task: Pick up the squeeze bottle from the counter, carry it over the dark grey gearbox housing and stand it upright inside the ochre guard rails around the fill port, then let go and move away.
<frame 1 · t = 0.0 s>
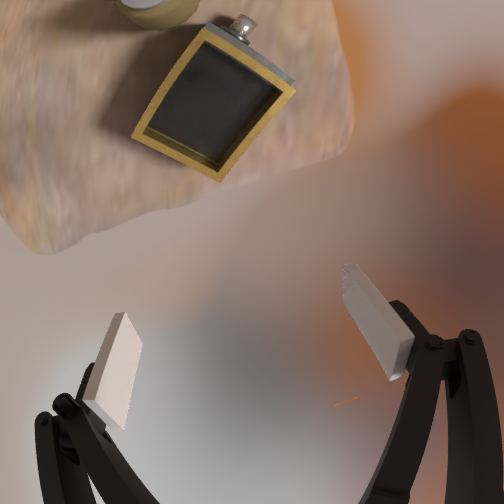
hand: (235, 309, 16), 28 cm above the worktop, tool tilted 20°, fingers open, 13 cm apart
squeeze bottle: (167, 3, 22), on the worktop
gearbox: (209, 95, 32), on the worktop
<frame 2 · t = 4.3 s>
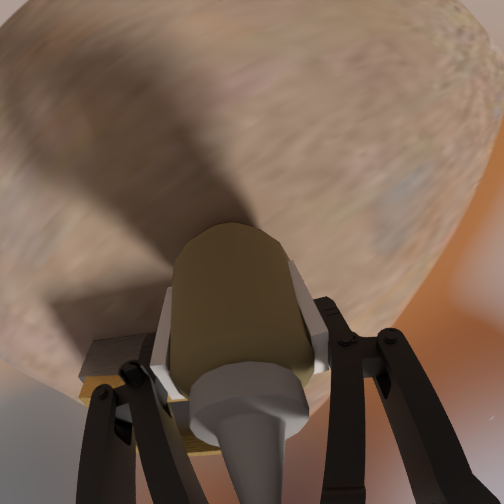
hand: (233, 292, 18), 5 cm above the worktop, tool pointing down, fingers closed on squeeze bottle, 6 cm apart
squeeze bottle: (230, 255, 22), on the worktop, touching gripper
gearbox: (182, 372, 27), on the worktop
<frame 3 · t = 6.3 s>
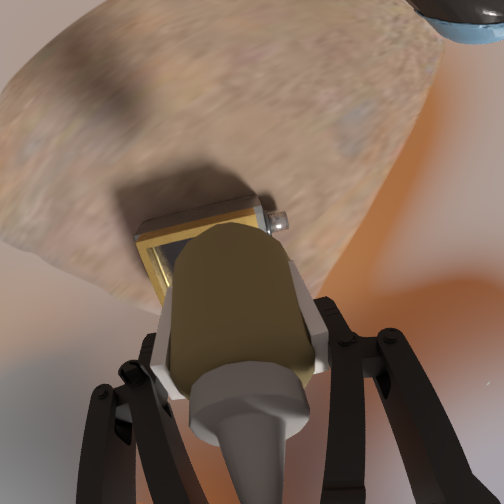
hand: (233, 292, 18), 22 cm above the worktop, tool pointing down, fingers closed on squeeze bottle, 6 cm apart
squeeze bottle: (230, 255, 22), point 17 cm above the worktop, touching gripper
gearbox: (208, 246, 40), on the worktop
when the fingers open (12 cm above the worktop, at t = 8.8 s): squeeze bottle drops 2 cm, resting on gearbox.
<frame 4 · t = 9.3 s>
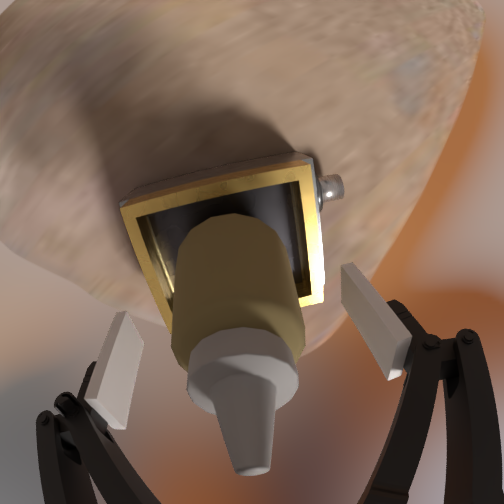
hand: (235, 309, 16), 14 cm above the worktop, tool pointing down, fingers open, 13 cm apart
squeeze bottle: (230, 246, 24), point 5 cm above the worktop, touching gearbox
gearbox: (227, 225, 28), on the worktop
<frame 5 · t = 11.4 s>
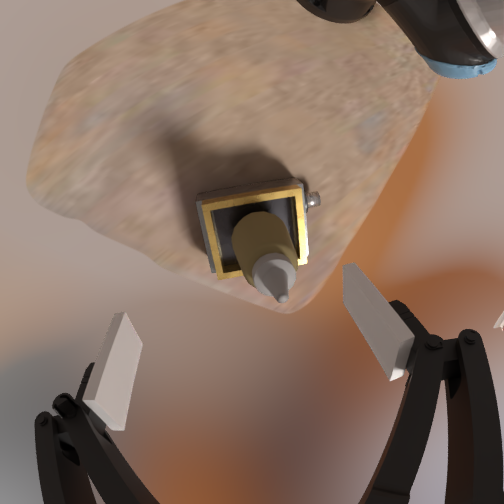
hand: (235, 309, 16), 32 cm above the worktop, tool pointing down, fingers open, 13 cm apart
squeeze bottle: (256, 229, 43), point 5 cm above the worktop, touching gearbox
gearbox: (251, 219, 47), on the worktop
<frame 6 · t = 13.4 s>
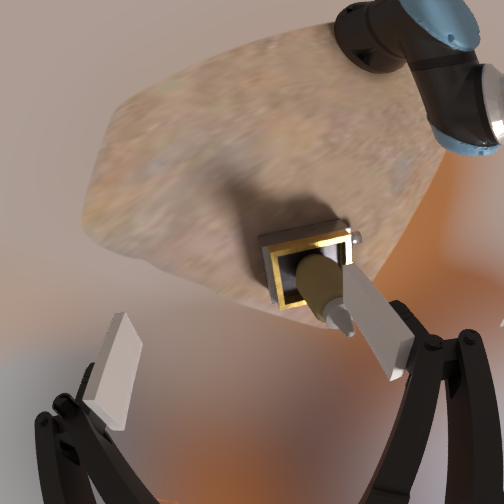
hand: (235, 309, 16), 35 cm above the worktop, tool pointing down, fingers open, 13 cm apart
squeeze bottle: (311, 267, 50), point 5 cm above the worktop, touching gearbox
gearbox: (303, 255, 55), on the worktop
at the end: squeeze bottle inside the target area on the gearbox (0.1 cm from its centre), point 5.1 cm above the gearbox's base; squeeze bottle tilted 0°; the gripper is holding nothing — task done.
